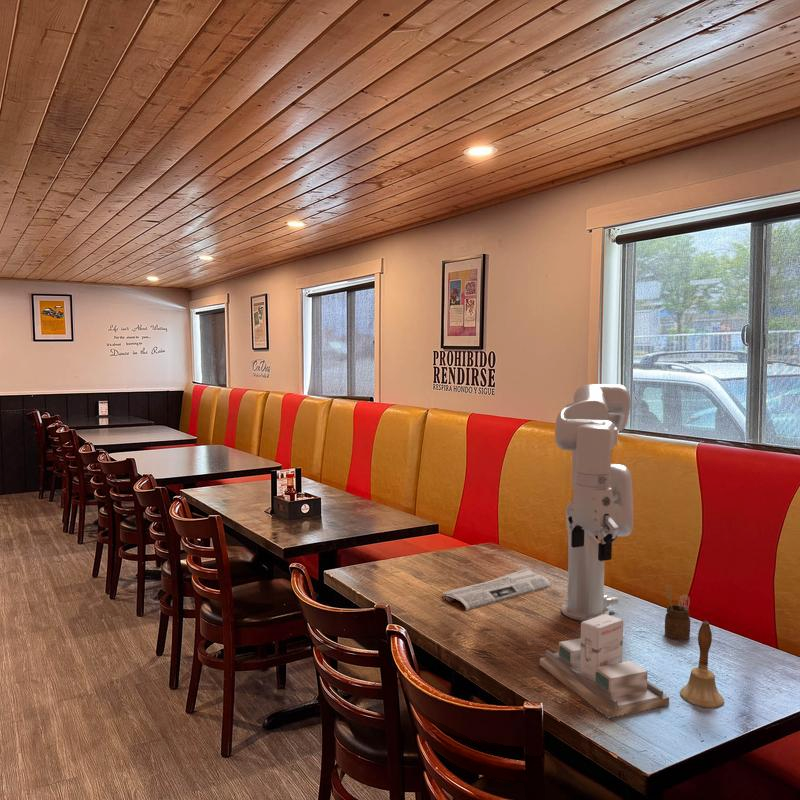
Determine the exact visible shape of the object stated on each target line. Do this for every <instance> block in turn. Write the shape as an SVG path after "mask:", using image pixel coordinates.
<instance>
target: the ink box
mask: <svg viewBox="0 0 800 800" xmlns="http://www.w3.org/2000/svg"><path fill="white" fill-rule="evenodd" d="M580 638H581V651H580V674H581V675H583V676H584V677H586V678H588V679H590V680H592V681H594V682H595V667H600V666H605V665H610V664H616V663H621V662H623V646H624V645H623V642H624V640H623V639H624V620H622V619H621V618H619V617H616V616H613V615H610V614H609V615H607V614H604V615H601V616H598V617H595V618H592V619H589V620H586V621H580Z"/></svg>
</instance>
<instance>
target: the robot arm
mask: <svg viewBox="0 0 800 800" xmlns="http://www.w3.org/2000/svg"><path fill="white" fill-rule="evenodd" d="M631 404H632V403H631V397H630V391H628V389H627V387H626V386H624V385H623V384H617V383H616V384H614V383H613V384H612V383H608V384H607V383H589V384H584V385H583V384H582V385H581V386H580V387H578V388H577V389H576V391H575V393H574V395H573V401H571V402H568V403H567V404H566V405H565V406H564V408H563V409H561V410H560V411H559V412H558V414H557V416H556V419H555V420H556V421H555V428H554V439H555V443H556V445H557V447H558V448H559V449H561V450H563V451H571V484H572V485H571V486H572V490H573V493H572V500H571V501H569V503H568V504H567V505H566V509H565V518H566V528H567V537H568V540H567V541H568V542H567V543H568V551H567V553H568V555H567V556H568V557H567V558H568V559H567V561H568V562H567V563H568V564H567V598H566V599H567V602H565V603H563V604H562V605H561V612H562V614H563V615H564V616H566V617H568V618H570V619H572V620H576V621H580V622H583V621H586V620H589V619H592V618H595V617H598V616H601V615H604V614H607V615H610V610H609V609H608V608H607V607H609V606H611V605H612V606H613V605H617V604H618V603H619V599H618V597H617V596H611V597H609V596H608V595H607V594H606V595H605V561H610V560H612V553H613V551H612V550H613V544H614V543H615V540H616V539H617V538H618V537H629V535H631V533H632V532H633V529H634V522H635V521H634V499H633V496H634V495H633V493H634V492H633V480H632V475H631V471H630V469H629V468H628V467H627V466H626V465H624V464H619V463H611V460H612V457H611V456H612V450H613V449H614V448H615V446H617V444H618V442H619V441H618V439H619V432H621V431H623V430H624V429H625V428H626V426H627V424H628V419H629V415H630V411H631ZM596 536H597V537H598V539H597V538H596Z"/></svg>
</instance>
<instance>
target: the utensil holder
mask: <svg viewBox="0 0 800 800" xmlns="http://www.w3.org/2000/svg"><path fill="white" fill-rule="evenodd" d="M670 587H671V586H670V585H669V584H667V585H665V593H666V598H667V599H668V601H669V605H668V606H667V608H666V613H665V616H664V617H665V618H664V633H665V636H667V637H668V638H671V639H673V640H679V641H684V640H688V639H689V638H690V635H691V618H690V610H689V605H690V598H689V596H688V595H686V594H683V595H681V596H680V597H679V598H680V599H679V601H678V604H672V597H673V596H672V591H671V588H670ZM685 597H686V600H688V602H687V601H685V605H687V603H688V605H687V606H684V605H683V601H684V598H685ZM681 598H682V600H681ZM680 602H681V603H680Z"/></svg>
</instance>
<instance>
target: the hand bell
mask: <svg viewBox="0 0 800 800" xmlns="http://www.w3.org/2000/svg"><path fill="white" fill-rule="evenodd" d="M700 625H701V626H700V627H699V630H698V634H697V643H698V647H699V657H698V658H699V660H698V667H694V668H691V670H690V674H689V679H688V682H687V683H686V684H685V685H684V686H683V687H682V688H680V690H679V695H680V697H681V698H682V699H683V700H685V701H686V702H688V703H690V704H693V705H694V706H699V707H702V708H703V707H704V708H707V709H710V708H711V709H713V708H719V707H721V706H723V705H724V703H725V700H724V697H723V696H722V694H721V693H720V692H719V690H718V689H717V688H718V687H717V683H716V678H715V674H714V672H713V671H712V670H710V669H709V668H708V666H709V651H710V649H711V646H712V642H713V641H712V640H713V634H712V630H711V627H710V622H709V621H707V620H704V621H702V623H701V624H700Z"/></svg>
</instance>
